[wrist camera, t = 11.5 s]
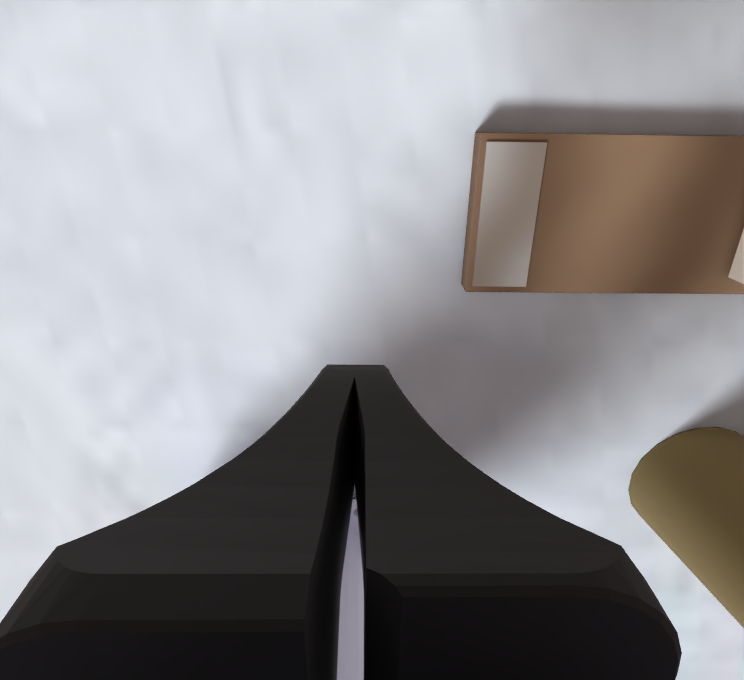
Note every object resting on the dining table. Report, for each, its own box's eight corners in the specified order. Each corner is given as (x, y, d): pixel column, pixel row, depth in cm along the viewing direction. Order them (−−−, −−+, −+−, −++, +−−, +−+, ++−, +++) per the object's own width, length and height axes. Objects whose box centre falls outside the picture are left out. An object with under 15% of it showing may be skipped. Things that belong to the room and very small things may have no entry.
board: (461, 283, 20) (466, 292, 19) (475, 132, 17) (481, 133, 16) (835, 286, 20) (860, 295, 19) (898, 138, 17) (930, 139, 16)
